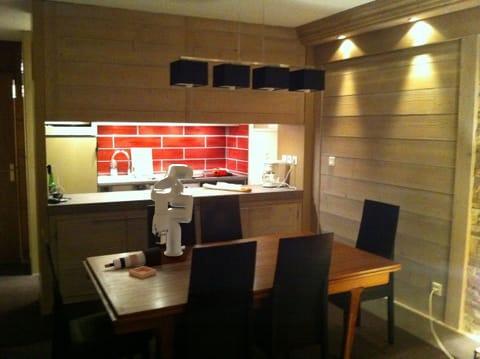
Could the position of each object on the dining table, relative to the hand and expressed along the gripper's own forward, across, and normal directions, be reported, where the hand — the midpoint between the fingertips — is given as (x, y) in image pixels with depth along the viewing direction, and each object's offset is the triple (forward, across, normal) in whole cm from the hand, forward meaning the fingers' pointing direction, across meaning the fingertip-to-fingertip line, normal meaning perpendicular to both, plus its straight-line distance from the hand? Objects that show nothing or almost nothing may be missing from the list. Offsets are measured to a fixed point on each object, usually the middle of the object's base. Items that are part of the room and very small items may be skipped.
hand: (161, 241), depth 272 cm
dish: (+17, +14, -1) cm, 22 cm away
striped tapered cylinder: (+17, +8, -16) cm, 25 cm away
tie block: (+1, 0, 0) cm, 1 cm away
